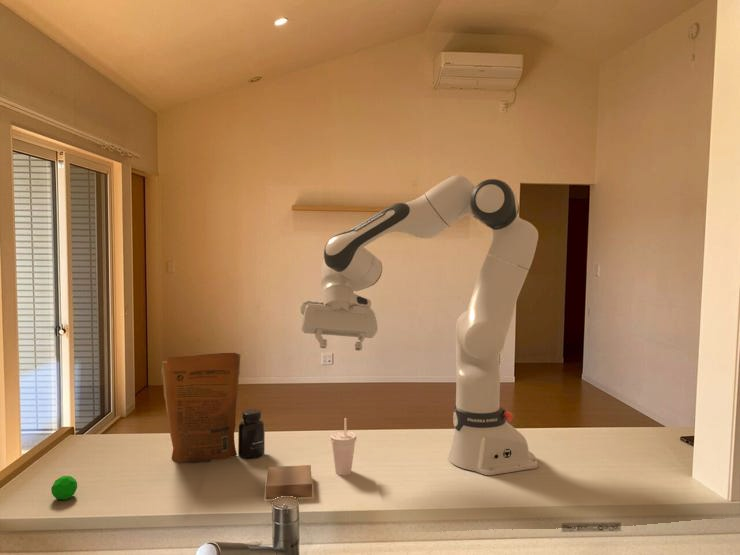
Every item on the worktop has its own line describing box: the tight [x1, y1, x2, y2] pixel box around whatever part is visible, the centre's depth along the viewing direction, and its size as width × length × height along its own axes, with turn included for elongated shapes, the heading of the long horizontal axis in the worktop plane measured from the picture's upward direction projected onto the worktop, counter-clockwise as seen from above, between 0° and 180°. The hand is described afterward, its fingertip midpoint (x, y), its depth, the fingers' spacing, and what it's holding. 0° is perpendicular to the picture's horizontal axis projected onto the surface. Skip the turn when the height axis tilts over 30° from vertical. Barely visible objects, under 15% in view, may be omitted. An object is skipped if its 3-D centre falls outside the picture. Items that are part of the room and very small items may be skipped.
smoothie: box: [329, 417, 357, 476], centre depth 135 cm, size 6×6×14 cm
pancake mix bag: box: [161, 352, 241, 464], centre depth 143 cm, size 7×19×28 cm, turn 99°
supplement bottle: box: [237, 408, 266, 460], centre depth 146 cm, size 7×7×12 cm
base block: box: [265, 464, 312, 499], centre depth 127 cm, size 10×10×3 cm
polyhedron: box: [50, 475, 78, 501], centre depth 122 cm, size 5×5×5 cm
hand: (341, 348), depth 144 cm, fingers open, 8 cm apart
